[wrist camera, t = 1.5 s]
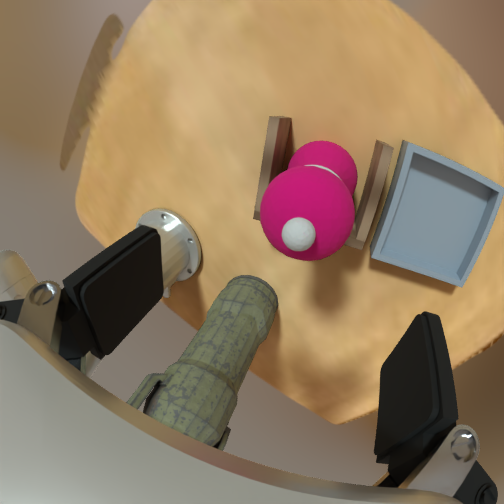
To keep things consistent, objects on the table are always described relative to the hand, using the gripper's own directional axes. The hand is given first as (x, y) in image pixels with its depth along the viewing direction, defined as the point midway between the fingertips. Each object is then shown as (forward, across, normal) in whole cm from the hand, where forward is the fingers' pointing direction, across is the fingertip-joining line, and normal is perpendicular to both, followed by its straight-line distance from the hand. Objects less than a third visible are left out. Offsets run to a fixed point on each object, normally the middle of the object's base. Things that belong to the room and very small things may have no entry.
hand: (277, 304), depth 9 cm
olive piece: (+25, +7, +22) cm, 34 cm away
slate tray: (+25, -14, +2) cm, 29 cm away
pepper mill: (+25, +1, 0) cm, 25 cm away
